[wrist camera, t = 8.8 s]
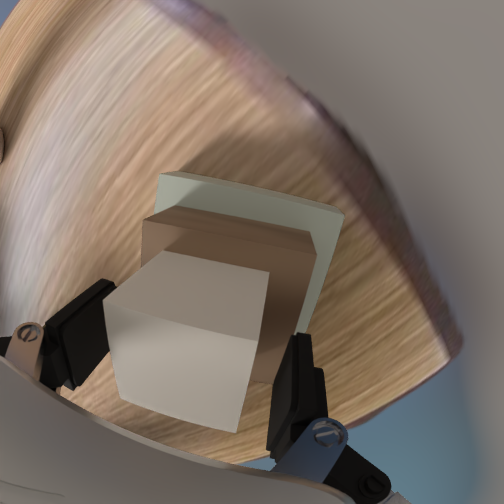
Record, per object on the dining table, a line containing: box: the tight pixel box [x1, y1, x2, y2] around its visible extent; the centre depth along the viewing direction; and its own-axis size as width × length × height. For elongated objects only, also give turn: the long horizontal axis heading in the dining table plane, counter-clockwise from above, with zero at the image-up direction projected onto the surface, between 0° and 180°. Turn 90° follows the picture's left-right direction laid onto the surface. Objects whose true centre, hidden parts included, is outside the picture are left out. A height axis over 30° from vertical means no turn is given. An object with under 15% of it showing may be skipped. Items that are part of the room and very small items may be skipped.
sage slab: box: [154, 171, 345, 335], centre depth 19 cm, size 11×11×4 cm
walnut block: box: [141, 205, 317, 385], centre depth 15 cm, size 8×8×4 cm
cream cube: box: [103, 250, 269, 433], centre depth 11 cm, size 5×5×5 cm
